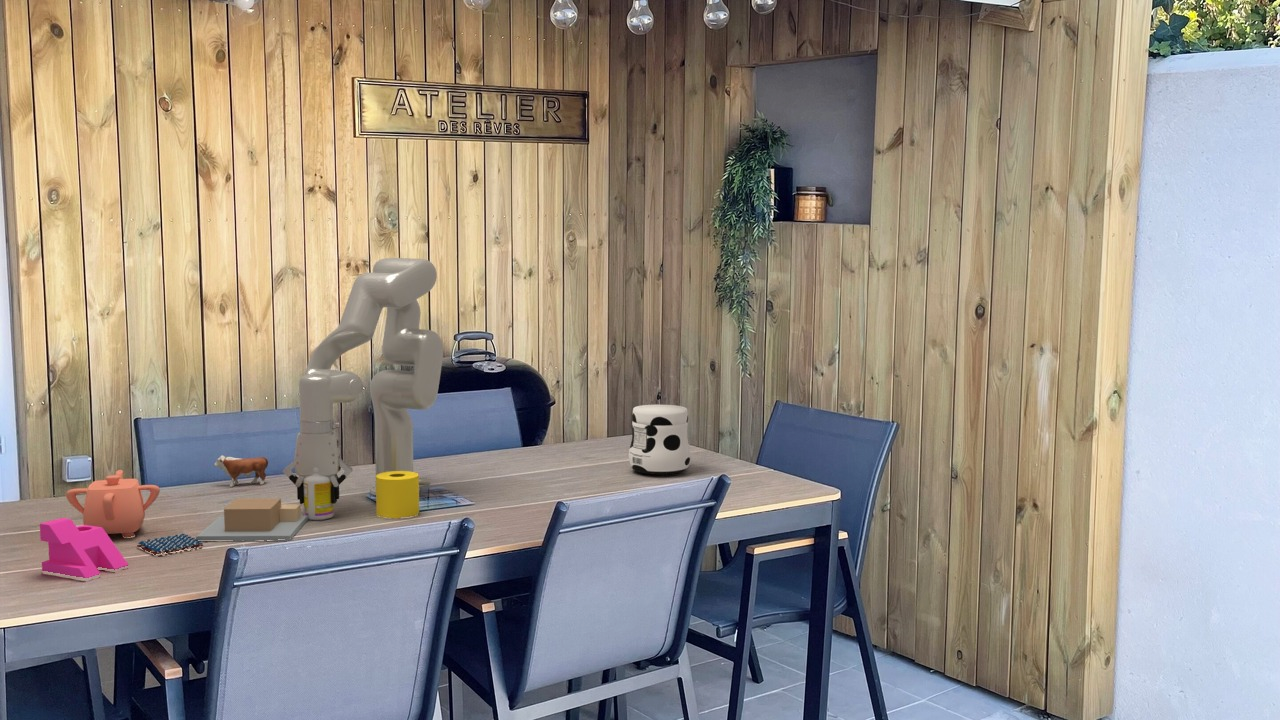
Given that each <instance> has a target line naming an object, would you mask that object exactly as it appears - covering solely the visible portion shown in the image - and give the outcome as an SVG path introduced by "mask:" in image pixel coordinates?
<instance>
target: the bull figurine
mask: <svg viewBox="0 0 1280 720" xmlns="http://www.w3.org/2000/svg"><path fill="white" fill-rule="evenodd" d="M213 465H214V467H219V468H220V469H221V470H223V472H224V473H225V474H226V475H227V476H228V477H229V478H231V482H230V485H228V488H233V487H235V486H238V484H239V479H238V477H239V476H242V475H243V476H246V477H247V478H250V477H251V475H252V474H254V473H255V476H254V479H253V480H252V481H251V482H250V484H252V483H253V484H255V483H257V482H258V480H259V478H260V479H261V481H260V483H259V485H260V486H263V485H264V484H265V483H266V476H267V474H266V472H265V471H266V469H267V468H268V466H269V461H268V458H266V457H265V456H264V457H263V456H260V457H259V456H258V457H250V458H249V457H248V458H240V457H239V458H238V457H233V456H225V455H220V457H218V458H217V459H216V461H215V463H214V464H213Z"/></svg>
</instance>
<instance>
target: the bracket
mask: <svg viewBox="0 0 1280 720" xmlns="http://www.w3.org/2000/svg"><path fill="white" fill-rule="evenodd" d="M39 533H40V534H39V535H40V542H46V543H47V545H48V559H47V560H44V561H41V571H48V572H53V573H60V574H65V575H70V576H76V577H83V578H89V577H92V576H95V575H99V574H101V572H100V570H98V569H97V568H98V567H102V568H107V569H114V570H115V569H119V568H121V567H125V566H128V565H129V563H128V562H127V560H126V559H125V557H124V556H123V555H122V554H121V552H120V551H119V549H118V548H117V547H116V545H115V543H114V542H113V541H112V539H111V537H110V536H109V534H107V533H106V532H105V531H104V529H103V528H102V527H96V526H89V525H84V524H82V525H78V526H76V524H75V522H74V521H73V520H72V518H64V517H61V518H56V519H53V520H48V521H45V522H40V523H39Z"/></svg>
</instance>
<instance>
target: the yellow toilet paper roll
mask: <svg viewBox="0 0 1280 720" xmlns="http://www.w3.org/2000/svg"><path fill="white" fill-rule="evenodd" d="M419 478H420V475H419V473H418V472H415V471H413V472H411V471H390V472H383V473H380V474H377V475H376V474H375V485H376V496H375V500H376V516H377V515H378V516H380V517H387V518H401V517H410V516H415V515H417V514H418V513H419V514H420V491H419V487H420V485H419ZM378 516H377V517H378ZM417 516H418V515H417ZM380 517H379V518H380ZM415 517H416V516H415Z"/></svg>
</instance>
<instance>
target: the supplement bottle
mask: <svg viewBox="0 0 1280 720" xmlns="http://www.w3.org/2000/svg"><path fill="white" fill-rule="evenodd" d="M313 471H314V472H318V468H316V467H315V468H314V469H313ZM303 485H304V503H303V511H304V515H303V516H307V517H308V521H309V520H310V521H323V520H329V519H331V518H332V517H333V516H334V504H332V500H331V487H332V486H333V483H332V481H331V480H330V478H329V476H322V475H319V474H317V473H315V474H313V475H310V476H305V477H304V479H303Z"/></svg>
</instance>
